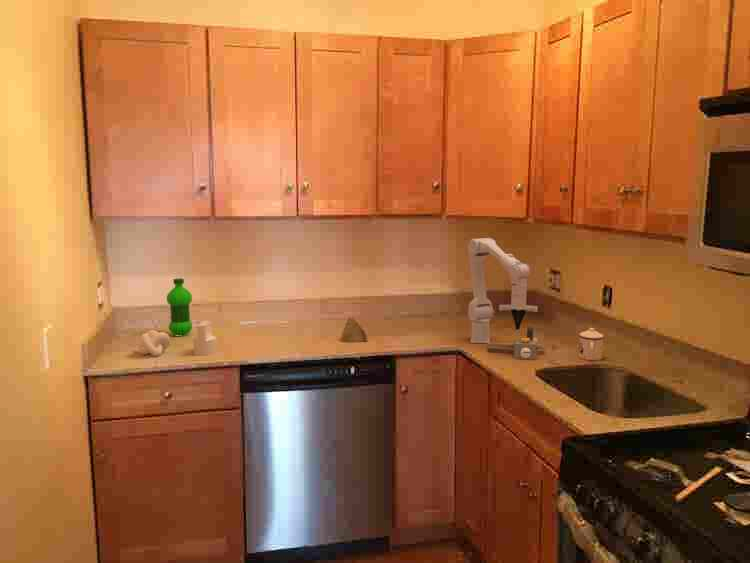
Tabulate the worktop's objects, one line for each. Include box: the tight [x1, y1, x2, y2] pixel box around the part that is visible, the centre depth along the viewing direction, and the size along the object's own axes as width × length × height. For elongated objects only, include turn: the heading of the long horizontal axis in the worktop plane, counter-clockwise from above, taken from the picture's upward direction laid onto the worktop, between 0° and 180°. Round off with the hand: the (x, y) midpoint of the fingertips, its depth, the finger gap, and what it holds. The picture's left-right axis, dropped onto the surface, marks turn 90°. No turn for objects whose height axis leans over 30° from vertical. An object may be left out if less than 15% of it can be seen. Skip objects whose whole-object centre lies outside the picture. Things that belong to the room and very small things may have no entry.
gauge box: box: [513, 339, 537, 360], centre depth 244 cm, size 7×8×6 cm
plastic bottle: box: [166, 278, 193, 337], centre depth 276 cm, size 10×10×25 cm
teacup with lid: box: [578, 327, 605, 361], centre depth 242 cm, size 12×9×12 cm
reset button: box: [520, 336, 530, 343], centre depth 243 cm, size 4×4×2 cm
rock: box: [340, 317, 368, 343], centre depth 267 cm, size 11×9×10 cm
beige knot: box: [138, 329, 171, 357], centre depth 247 cm, size 11×12×9 cm
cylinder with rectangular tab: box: [192, 320, 218, 357], centre depth 248 cm, size 9×9×12 cm
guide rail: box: [489, 341, 543, 348], centre depth 254 cm, size 2×21×1 cm, turn 81°
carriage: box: [526, 326, 539, 348], centre depth 252 cm, size 6×6×8 cm
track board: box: [487, 343, 546, 355], centre depth 254 cm, size 9×22×2 cm, turn 81°
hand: (517, 328), depth 247 cm, fingers closed
